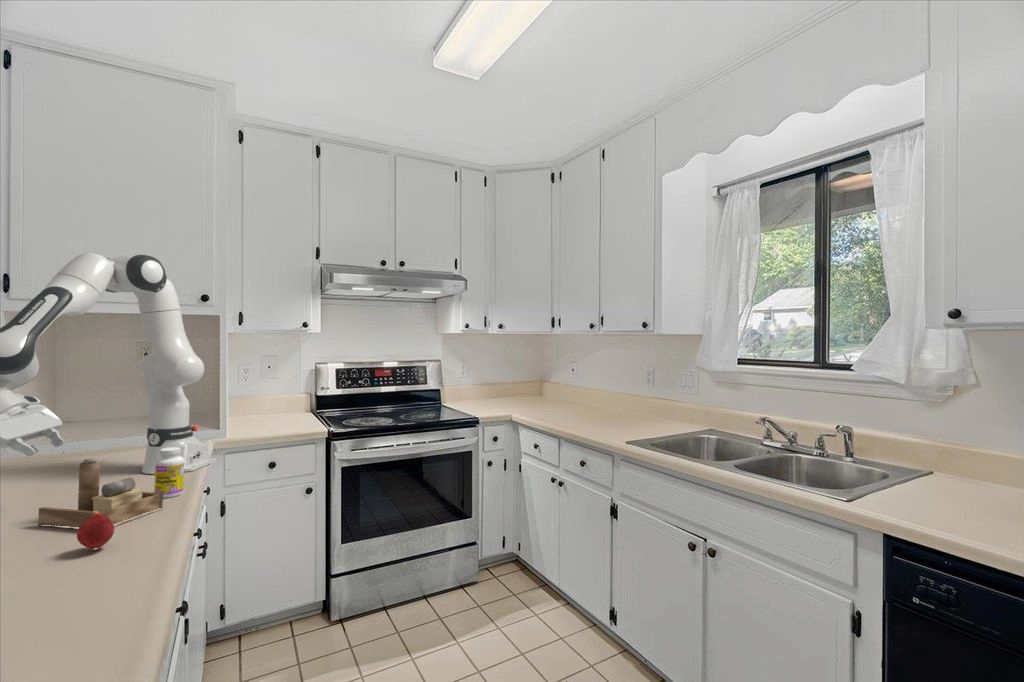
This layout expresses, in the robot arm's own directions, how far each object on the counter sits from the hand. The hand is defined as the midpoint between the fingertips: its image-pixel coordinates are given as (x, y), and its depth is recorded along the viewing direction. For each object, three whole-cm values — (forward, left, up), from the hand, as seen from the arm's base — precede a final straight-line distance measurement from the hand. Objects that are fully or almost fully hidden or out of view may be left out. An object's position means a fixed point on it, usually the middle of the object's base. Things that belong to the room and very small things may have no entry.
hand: (48, 449), depth 125 cm
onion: (+16, +33, -16) cm, 40 cm away
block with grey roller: (0, +20, -16) cm, 26 cm away
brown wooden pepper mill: (0, +12, -15) cm, 19 cm away
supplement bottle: (-19, +17, -16) cm, 30 cm away
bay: (0, +16, -16) cm, 23 cm away
